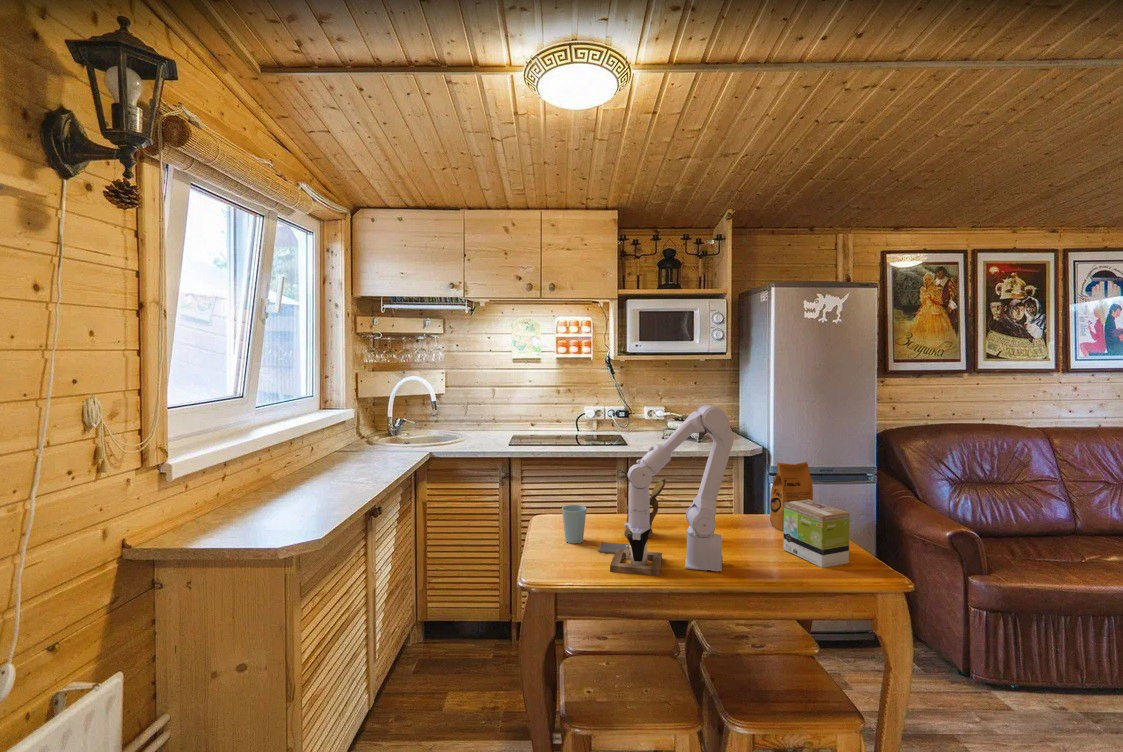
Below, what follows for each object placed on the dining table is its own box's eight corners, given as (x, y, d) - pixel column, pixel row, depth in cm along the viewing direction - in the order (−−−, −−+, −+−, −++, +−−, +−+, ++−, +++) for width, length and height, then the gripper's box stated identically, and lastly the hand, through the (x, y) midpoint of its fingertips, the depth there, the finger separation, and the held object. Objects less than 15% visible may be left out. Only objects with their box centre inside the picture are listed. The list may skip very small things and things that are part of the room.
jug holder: (662, 558, 157) (662, 552, 157) (659, 575, 144) (659, 569, 144) (616, 554, 160) (616, 549, 160) (609, 571, 147) (609, 565, 147)
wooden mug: (669, 538, 174) (669, 482, 173) (627, 540, 173) (627, 483, 172) (661, 530, 183) (662, 476, 182) (621, 531, 182) (621, 477, 181)
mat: (628, 545, 167) (628, 544, 167) (625, 554, 160) (625, 553, 160) (602, 543, 169) (602, 542, 169) (598, 552, 162) (598, 550, 162)
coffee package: (766, 523, 190) (766, 460, 189) (801, 522, 191) (801, 459, 190) (779, 532, 180) (780, 465, 179) (816, 531, 181) (817, 464, 180)
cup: (576, 546, 166) (576, 512, 166) (556, 541, 171) (556, 508, 171) (591, 540, 172) (591, 507, 172) (571, 535, 177) (571, 503, 177)
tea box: (781, 550, 163) (782, 501, 162) (808, 546, 166) (808, 498, 166) (822, 569, 149) (823, 514, 148) (850, 564, 152) (851, 510, 152)
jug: (648, 562, 153) (648, 539, 153) (646, 568, 149) (646, 544, 149) (627, 560, 155) (627, 538, 155) (625, 566, 150) (625, 543, 150)
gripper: (627, 501, 159) (627, 547, 160) (621, 515, 145) (621, 566, 146) (652, 502, 158) (652, 549, 158) (648, 516, 144) (648, 568, 144)
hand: (639, 557), depth 152 cm, fingers closed on jug, 5 cm apart
